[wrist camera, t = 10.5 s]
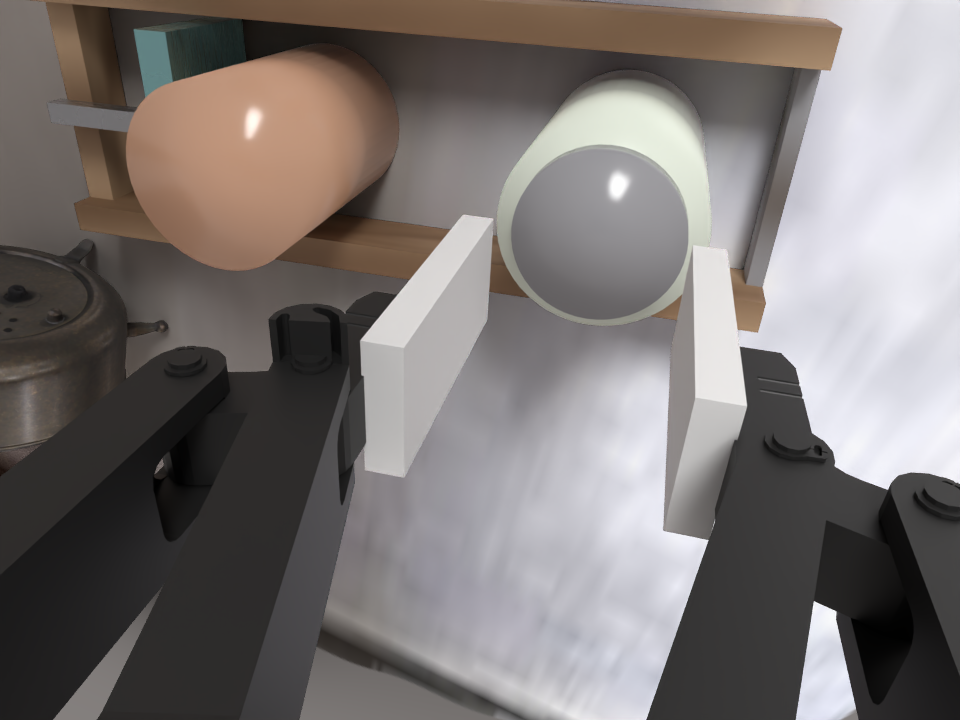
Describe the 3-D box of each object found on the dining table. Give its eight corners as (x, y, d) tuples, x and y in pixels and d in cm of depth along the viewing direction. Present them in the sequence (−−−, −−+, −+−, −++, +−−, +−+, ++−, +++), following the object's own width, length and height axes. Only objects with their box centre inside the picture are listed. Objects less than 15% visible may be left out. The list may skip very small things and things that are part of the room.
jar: (554, 62, 27) (496, 116, 19) (720, 77, 26) (735, 141, 18) (539, 217, 30) (484, 320, 22) (687, 236, 29) (687, 353, 21)
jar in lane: (257, 37, 29) (108, 70, 22) (398, 49, 28) (293, 90, 21) (271, 183, 32) (145, 257, 25) (399, 200, 31) (308, 283, 24)
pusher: (82, 4, 30) (-17, 15, 26) (241, 18, 29) (165, 32, 24) (118, 182, 34) (37, 216, 30) (261, 201, 32) (197, 240, 28)
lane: (73, -38, 30) (16, -36, 27) (826, 19, 24) (842, 28, 22) (124, 208, 35) (80, 229, 32) (751, 299, 30) (757, 332, 27)
